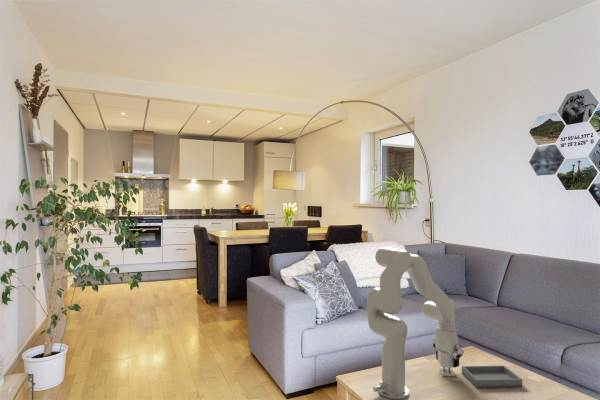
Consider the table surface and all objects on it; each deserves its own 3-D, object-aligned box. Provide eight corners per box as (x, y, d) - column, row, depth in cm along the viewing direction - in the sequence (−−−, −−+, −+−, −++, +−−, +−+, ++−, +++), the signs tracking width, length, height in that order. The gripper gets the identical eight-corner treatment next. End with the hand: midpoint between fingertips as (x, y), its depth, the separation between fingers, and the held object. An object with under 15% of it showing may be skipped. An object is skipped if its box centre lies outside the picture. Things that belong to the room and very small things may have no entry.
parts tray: (476, 388, 165) (476, 380, 165) (461, 373, 179) (461, 366, 179) (522, 387, 165) (522, 379, 165) (504, 372, 179) (504, 365, 179)
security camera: (451, 370, 183) (451, 348, 183) (455, 376, 176) (455, 354, 176) (437, 369, 183) (437, 348, 184) (441, 375, 176) (441, 353, 177)
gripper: (426, 322, 186) (427, 358, 186) (457, 333, 171) (458, 371, 171) (437, 319, 189) (437, 354, 190) (467, 330, 174) (468, 367, 175)
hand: (447, 362), depth 180 cm, fingers open, 9 cm apart
